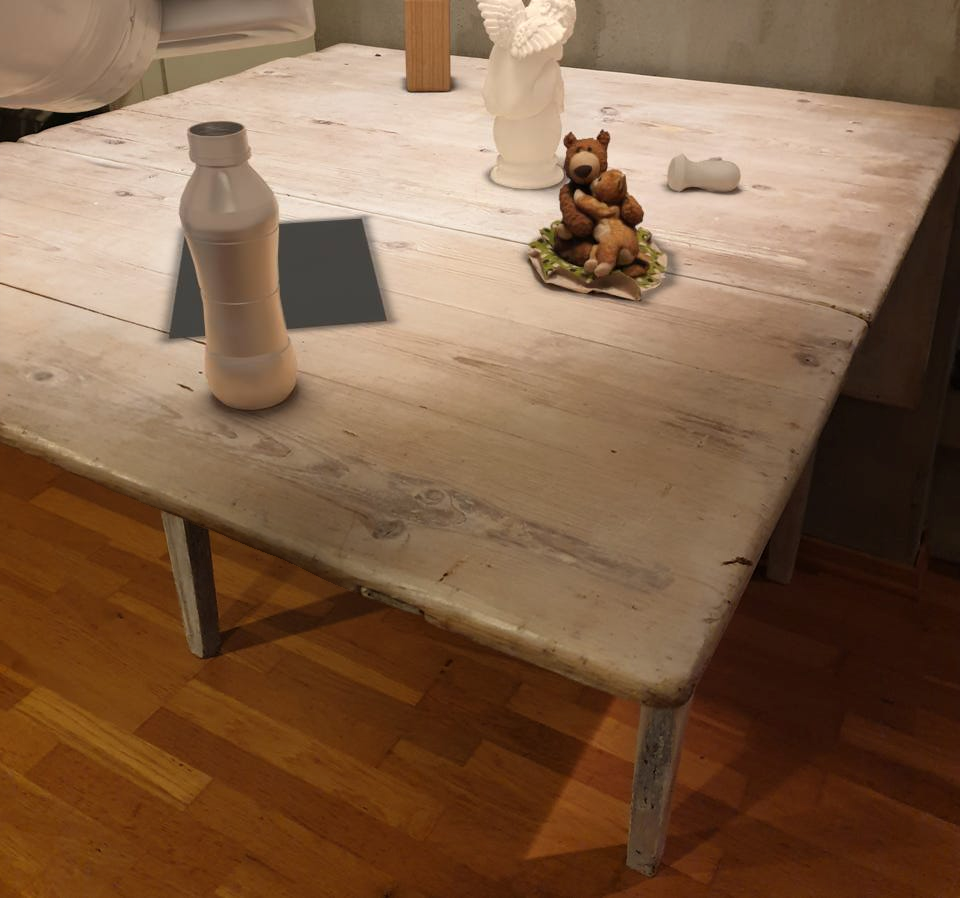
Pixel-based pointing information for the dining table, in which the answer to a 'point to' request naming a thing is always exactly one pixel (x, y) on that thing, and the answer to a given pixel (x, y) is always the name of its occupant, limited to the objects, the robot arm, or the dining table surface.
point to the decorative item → (427, 45)
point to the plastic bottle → (237, 269)
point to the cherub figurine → (526, 87)
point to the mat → (302, 279)
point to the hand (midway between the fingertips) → (140, 38)
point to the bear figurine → (597, 229)
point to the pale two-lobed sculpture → (703, 174)
